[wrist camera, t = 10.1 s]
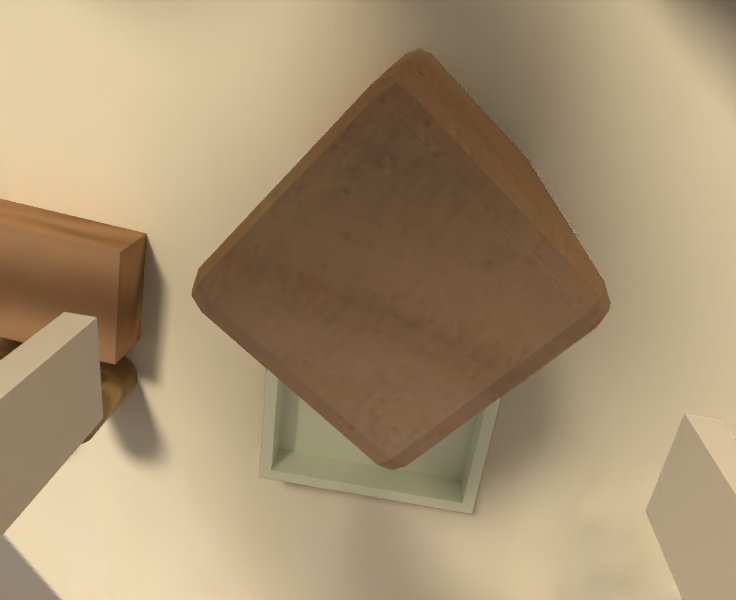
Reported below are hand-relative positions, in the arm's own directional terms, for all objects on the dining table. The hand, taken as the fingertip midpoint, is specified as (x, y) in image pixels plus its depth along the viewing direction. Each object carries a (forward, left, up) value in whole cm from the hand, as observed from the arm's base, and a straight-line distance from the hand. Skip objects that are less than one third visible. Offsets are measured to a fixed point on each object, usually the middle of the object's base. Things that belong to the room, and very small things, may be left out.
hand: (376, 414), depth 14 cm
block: (0, 0, -26) cm, 26 cm away
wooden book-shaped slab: (+10, -23, -26) cm, 36 cm away
